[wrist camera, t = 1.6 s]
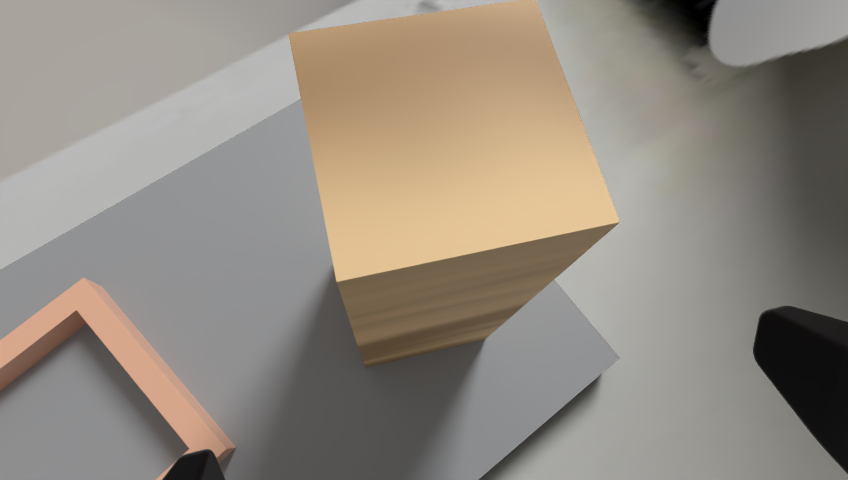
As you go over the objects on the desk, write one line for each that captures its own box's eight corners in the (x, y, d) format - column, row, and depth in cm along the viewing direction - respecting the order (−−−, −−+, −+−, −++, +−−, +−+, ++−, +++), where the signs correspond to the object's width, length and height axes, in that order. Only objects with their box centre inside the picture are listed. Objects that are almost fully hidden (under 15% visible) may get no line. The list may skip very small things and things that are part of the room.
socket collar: (236, 447, 18) (226, 448, 17) (26, 644, 16) (-1, 660, 15) (101, 286, 19) (83, 277, 18) (-109, 446, 17) (-143, 447, 16)
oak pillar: (485, 339, 20) (619, 222, 8) (365, 367, 19) (336, 281, 8) (454, 227, 21) (535, -3, 10) (341, 250, 20) (288, 33, 9)
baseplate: (72, 817, 16) (41, 855, 14) (-130, 371, 19) (-171, 366, 18) (604, 362, 21) (619, 357, 20) (370, 80, 25) (369, 59, 23)
